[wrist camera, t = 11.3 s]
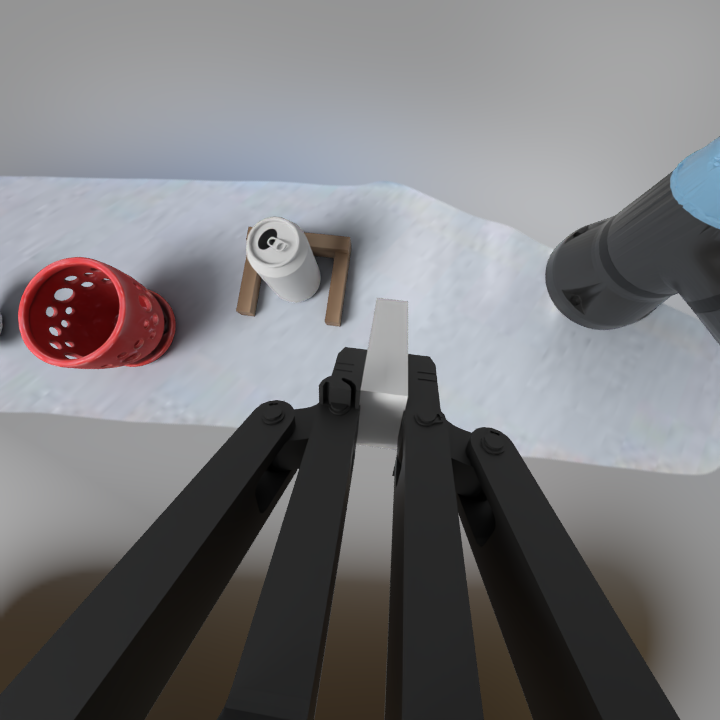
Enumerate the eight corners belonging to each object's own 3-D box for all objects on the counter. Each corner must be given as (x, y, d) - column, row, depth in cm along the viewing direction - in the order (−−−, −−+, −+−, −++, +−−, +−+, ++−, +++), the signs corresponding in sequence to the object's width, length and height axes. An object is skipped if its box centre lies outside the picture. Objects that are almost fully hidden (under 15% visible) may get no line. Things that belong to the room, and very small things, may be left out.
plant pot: (86, 325, 48) (-7, 300, 37) (156, 274, 49) (88, 233, 37) (130, 393, 47) (47, 390, 35) (202, 339, 47) (145, 318, 35)
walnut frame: (351, 247, 48) (350, 237, 45) (340, 326, 47) (337, 321, 44) (256, 237, 49) (248, 226, 46) (241, 314, 48) (233, 308, 45)
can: (292, 248, 49) (266, 198, 37) (331, 274, 48) (318, 232, 36) (263, 287, 48) (227, 249, 36) (302, 314, 47) (278, 284, 35)
